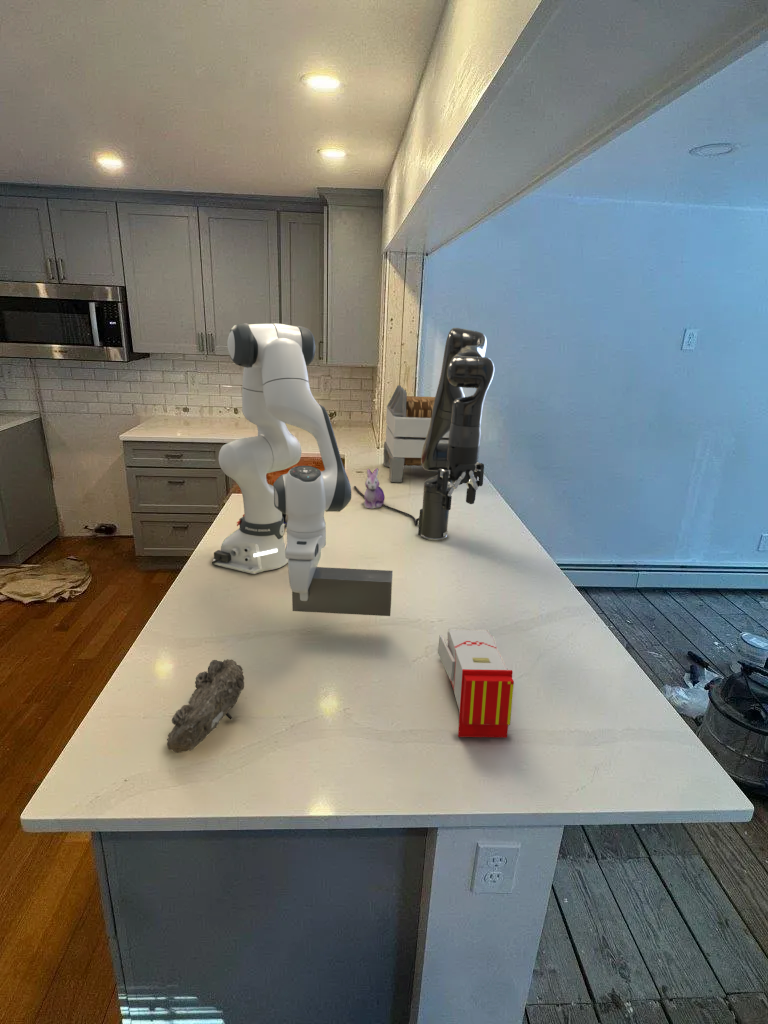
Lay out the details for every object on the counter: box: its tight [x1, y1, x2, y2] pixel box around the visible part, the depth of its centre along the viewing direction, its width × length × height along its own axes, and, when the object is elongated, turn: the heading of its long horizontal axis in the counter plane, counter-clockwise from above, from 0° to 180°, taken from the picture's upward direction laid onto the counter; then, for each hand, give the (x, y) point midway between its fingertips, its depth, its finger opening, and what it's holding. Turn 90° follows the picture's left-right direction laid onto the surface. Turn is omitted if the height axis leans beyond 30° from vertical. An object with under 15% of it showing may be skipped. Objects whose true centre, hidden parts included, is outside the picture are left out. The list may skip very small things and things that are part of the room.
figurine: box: [363, 467, 385, 509], centre depth 225 cm, size 9×10×15 cm
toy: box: [437, 628, 515, 738], centre depth 117 cm, size 12×13×30 cm
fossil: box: [166, 658, 245, 754], centre depth 106 cm, size 22×10×15 cm
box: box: [291, 566, 393, 617], centre depth 133 cm, size 23×6×9 cm, turn 87°
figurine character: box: [282, 513, 288, 528], centre depth 204 cm, size 7×8×15 cm
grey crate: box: [383, 384, 453, 483], centre depth 268 cm, size 34×33×41 cm
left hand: (307, 592), depth 134 cm, fingers closed on box, 6 cm apart
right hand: (458, 506), depth 141 cm, fingers open, 8 cm apart
